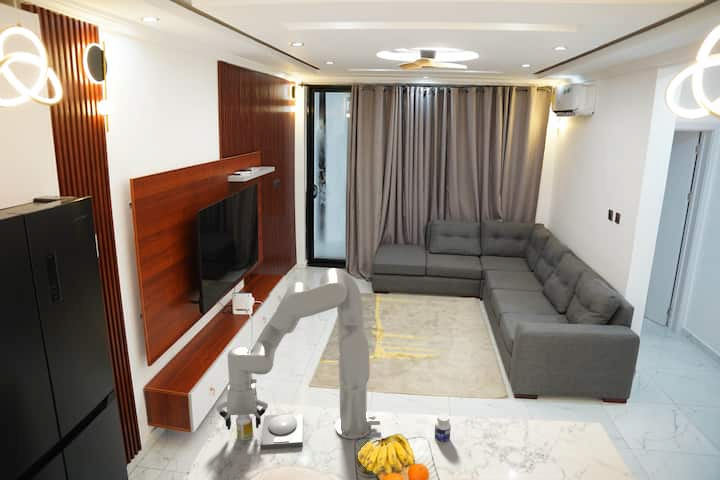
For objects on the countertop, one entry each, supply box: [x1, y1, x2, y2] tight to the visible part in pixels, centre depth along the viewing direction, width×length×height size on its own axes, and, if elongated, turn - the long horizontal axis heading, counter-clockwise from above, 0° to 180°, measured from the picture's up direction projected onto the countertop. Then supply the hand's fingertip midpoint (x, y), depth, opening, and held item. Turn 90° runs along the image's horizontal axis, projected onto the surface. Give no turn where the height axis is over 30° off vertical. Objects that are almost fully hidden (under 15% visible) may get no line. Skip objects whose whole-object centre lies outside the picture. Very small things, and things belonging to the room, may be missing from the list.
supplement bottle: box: [235, 414, 254, 441], centre depth 171 cm, size 5×5×10 cm
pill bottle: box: [434, 413, 452, 445], centre depth 169 cm, size 5×5×9 cm
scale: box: [259, 412, 304, 451], centre depth 173 cm, size 14×16×3 cm
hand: (243, 426), depth 171 cm, fingers open, 9 cm apart
